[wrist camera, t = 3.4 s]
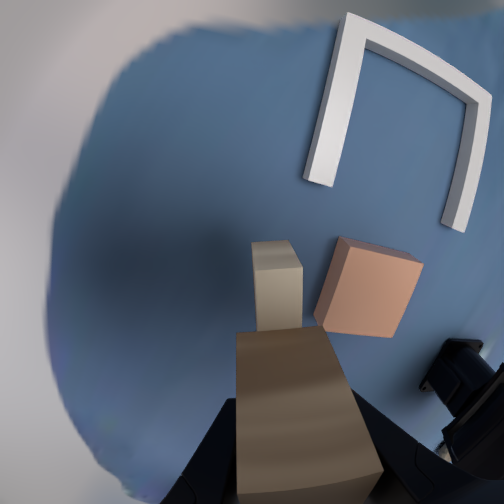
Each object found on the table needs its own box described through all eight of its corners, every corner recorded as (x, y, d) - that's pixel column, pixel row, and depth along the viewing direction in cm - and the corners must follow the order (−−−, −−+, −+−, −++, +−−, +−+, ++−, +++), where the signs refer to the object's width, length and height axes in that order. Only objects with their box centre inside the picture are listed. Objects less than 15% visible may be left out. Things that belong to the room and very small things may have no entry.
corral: (480, 96, 16) (492, 95, 15) (452, 227, 19) (464, 233, 18) (340, 20, 14) (347, 11, 13) (302, 178, 18) (308, 180, 16)
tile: (406, 251, 20) (423, 264, 18) (379, 320, 22) (392, 337, 20) (337, 234, 20) (350, 246, 17) (312, 311, 21) (320, 330, 19)
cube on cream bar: (232, 243, 12) (222, 434, 4) (306, 239, 12) (417, 403, 4) (245, 382, 15) (252, 544, 6) (302, 377, 15) (340, 533, 6)
